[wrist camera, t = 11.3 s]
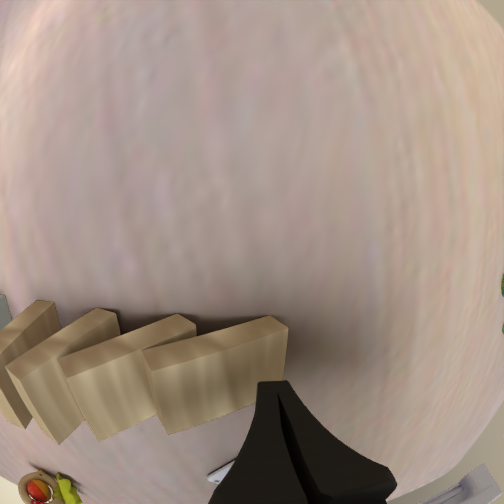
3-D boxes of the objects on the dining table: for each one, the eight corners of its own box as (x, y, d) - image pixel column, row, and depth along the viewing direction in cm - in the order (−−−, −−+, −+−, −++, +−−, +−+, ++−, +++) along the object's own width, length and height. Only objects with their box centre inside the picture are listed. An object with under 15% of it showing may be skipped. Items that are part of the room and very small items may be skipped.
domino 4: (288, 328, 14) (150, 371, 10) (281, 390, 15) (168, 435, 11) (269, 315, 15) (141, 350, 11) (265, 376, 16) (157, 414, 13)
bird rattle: (55, 471, 24) (97, 506, 21) (14, 505, 14) (55, 547, 11) (40, 450, 22) (83, 489, 19) (-7, 485, 12) (33, 533, 9)
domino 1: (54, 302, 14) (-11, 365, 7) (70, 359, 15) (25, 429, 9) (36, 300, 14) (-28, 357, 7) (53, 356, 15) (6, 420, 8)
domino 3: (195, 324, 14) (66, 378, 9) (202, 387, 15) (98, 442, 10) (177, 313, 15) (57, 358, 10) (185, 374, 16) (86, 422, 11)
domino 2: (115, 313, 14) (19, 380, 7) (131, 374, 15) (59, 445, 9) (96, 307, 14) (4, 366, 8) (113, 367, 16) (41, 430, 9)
